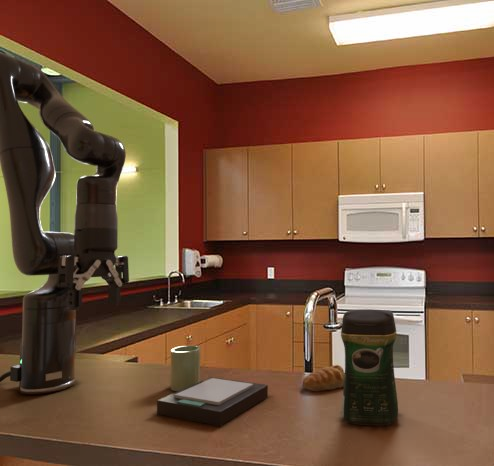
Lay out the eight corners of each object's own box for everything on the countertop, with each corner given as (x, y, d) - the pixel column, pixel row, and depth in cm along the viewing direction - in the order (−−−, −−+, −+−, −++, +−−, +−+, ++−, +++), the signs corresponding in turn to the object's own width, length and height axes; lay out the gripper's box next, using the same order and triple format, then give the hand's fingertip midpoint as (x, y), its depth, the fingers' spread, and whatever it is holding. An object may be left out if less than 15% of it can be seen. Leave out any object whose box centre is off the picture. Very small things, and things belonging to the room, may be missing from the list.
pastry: (313, 395, 80) (312, 376, 80) (295, 387, 85) (295, 368, 85) (349, 385, 86) (349, 367, 86) (331, 378, 91) (331, 361, 91)
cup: (164, 389, 84) (164, 350, 84) (185, 380, 90) (185, 344, 90) (185, 392, 82) (186, 353, 82) (205, 383, 87) (206, 346, 88)
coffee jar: (399, 410, 72) (398, 306, 73) (396, 430, 65) (395, 313, 65) (346, 407, 74) (345, 305, 75) (337, 425, 66) (336, 312, 67)
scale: (156, 414, 71) (156, 396, 72) (211, 388, 84) (211, 374, 85) (220, 426, 66) (220, 407, 66) (267, 397, 79) (267, 381, 79)
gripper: (111, 231, 90) (111, 303, 89) (48, 226, 77) (46, 311, 76) (138, 229, 88) (138, 303, 87) (78, 223, 75) (76, 311, 73)
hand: (95, 307), depth 81 cm, fingers open, 8 cm apart
